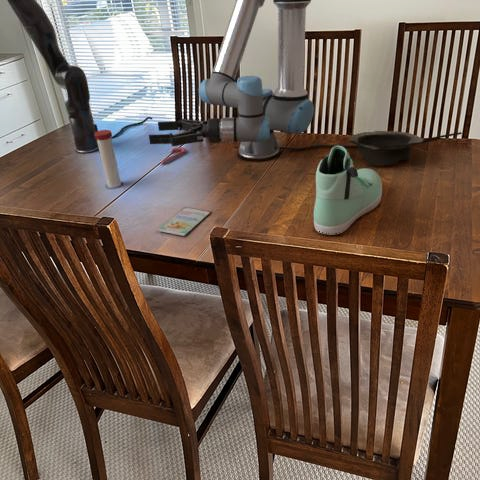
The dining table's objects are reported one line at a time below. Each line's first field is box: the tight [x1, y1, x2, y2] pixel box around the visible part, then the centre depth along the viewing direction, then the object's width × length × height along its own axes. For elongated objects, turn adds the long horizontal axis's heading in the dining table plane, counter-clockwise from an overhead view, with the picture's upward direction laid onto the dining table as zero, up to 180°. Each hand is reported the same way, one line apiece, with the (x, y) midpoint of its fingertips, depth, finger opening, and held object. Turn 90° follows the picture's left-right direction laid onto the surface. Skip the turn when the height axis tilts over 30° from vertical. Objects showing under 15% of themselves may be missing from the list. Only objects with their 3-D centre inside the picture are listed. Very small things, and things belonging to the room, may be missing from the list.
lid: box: [94, 129, 113, 140], centre depth 156 cm, size 5×5×2 cm
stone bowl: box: [348, 130, 426, 167], centre depth 167 cm, size 25×25×9 cm
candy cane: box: [160, 146, 187, 165], centre depth 183 cm, size 6×15×2 cm, turn 145°
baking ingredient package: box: [157, 207, 211, 237], centre depth 139 cm, size 9×1×15 cm
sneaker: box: [313, 146, 383, 236], centre depth 133 cm, size 14×35×20 cm, turn 152°
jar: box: [97, 137, 122, 189], centre depth 160 cm, size 5×5×18 cm
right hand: (154, 132), depth 152 cm, fingers open, 13 cm apart
